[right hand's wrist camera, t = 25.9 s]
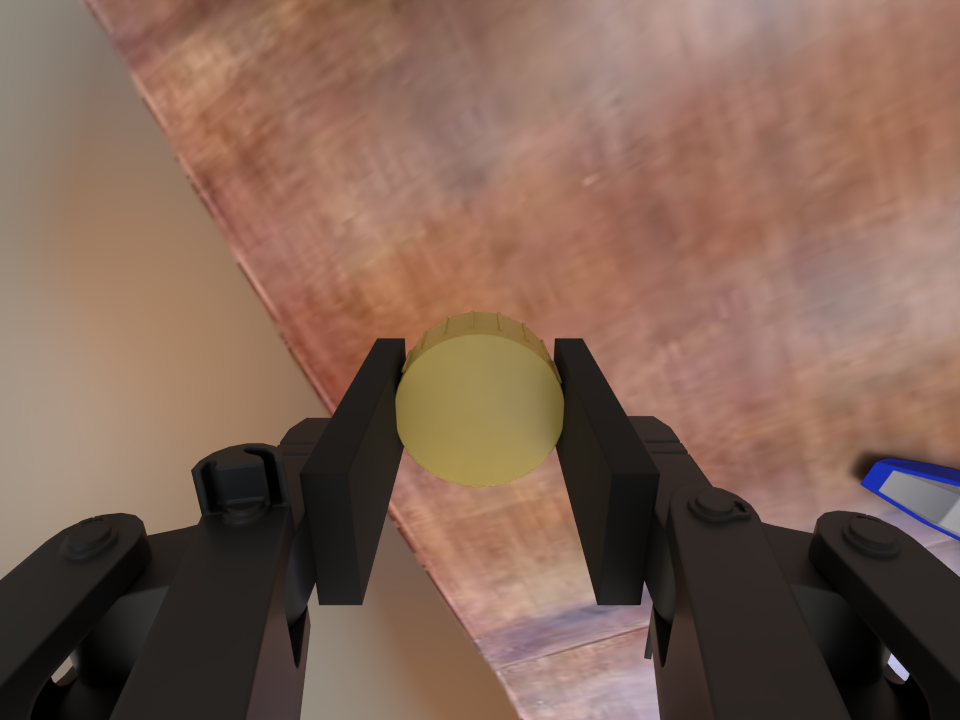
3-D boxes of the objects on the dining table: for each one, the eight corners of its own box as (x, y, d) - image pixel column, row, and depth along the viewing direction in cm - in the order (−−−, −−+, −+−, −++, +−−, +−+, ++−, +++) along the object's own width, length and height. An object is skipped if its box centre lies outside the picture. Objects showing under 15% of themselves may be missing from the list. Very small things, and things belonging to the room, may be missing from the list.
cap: (560, 308, 14) (573, 331, 12) (553, 450, 15) (563, 488, 13) (398, 309, 14) (385, 332, 12) (407, 450, 15) (398, 490, 13)
